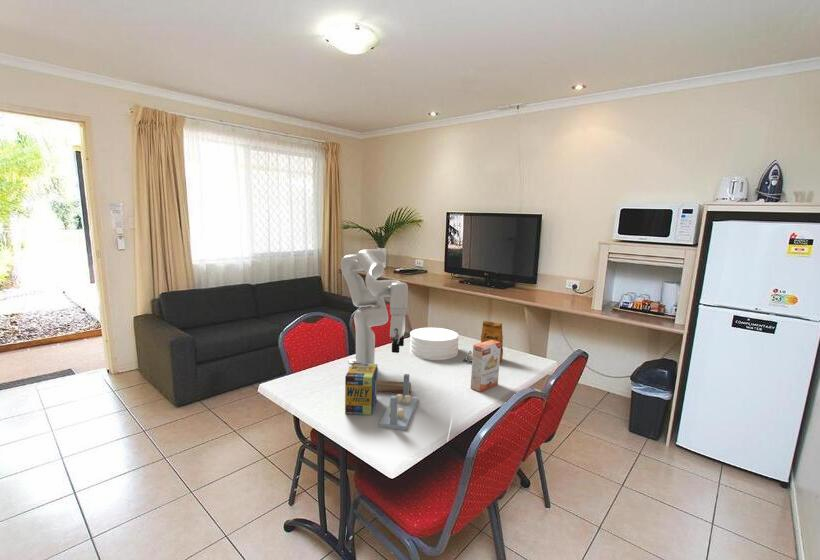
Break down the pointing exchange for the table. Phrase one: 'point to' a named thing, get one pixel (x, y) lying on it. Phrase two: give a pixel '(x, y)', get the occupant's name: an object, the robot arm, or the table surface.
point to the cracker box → (485, 365)
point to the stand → (399, 409)
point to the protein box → (360, 389)
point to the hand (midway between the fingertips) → (397, 349)
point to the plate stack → (434, 343)
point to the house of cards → (467, 360)
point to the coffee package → (492, 333)
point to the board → (391, 387)
